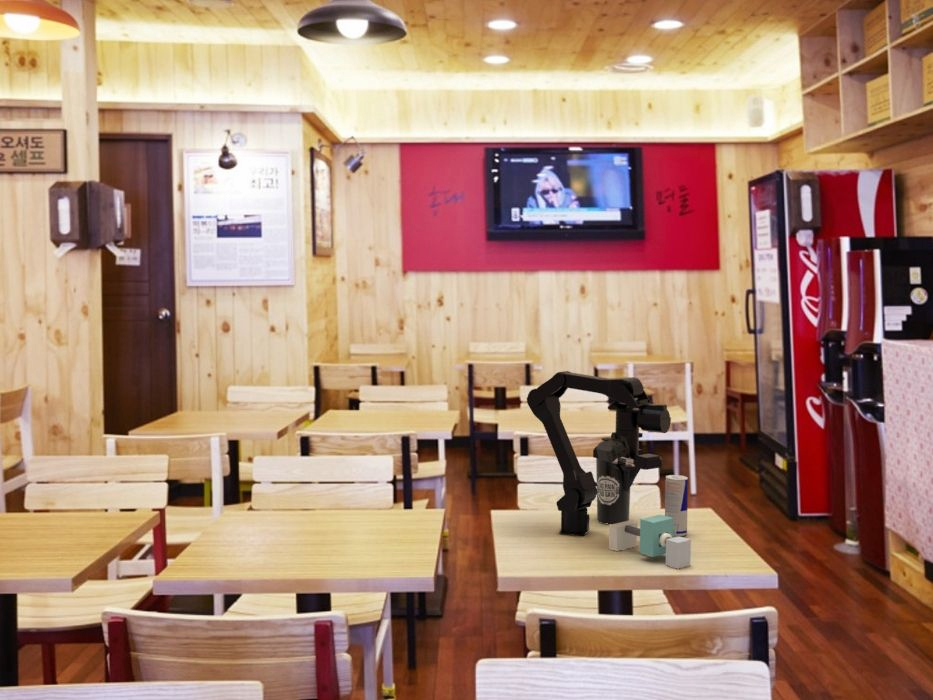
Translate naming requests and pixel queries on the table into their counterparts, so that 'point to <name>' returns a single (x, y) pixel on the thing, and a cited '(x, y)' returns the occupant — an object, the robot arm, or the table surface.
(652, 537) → the teal block with hole
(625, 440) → the robot arm
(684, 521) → the beverage can
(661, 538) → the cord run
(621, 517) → the water bottle
